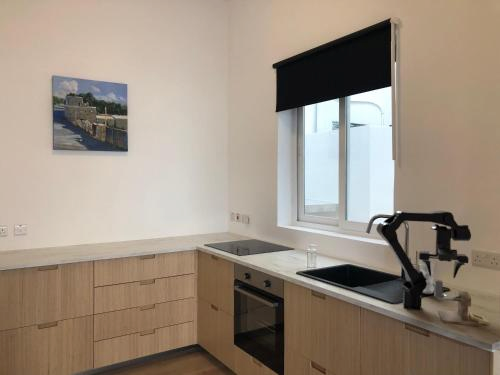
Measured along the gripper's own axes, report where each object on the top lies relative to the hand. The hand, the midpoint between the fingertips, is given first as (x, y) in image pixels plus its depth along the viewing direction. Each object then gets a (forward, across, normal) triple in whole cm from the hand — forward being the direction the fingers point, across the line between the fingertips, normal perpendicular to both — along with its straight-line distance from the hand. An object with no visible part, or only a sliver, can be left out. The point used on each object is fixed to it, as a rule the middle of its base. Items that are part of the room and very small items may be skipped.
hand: (442, 277), depth 174 cm
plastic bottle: (+13, -4, +20) cm, 24 cm away
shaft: (+6, +1, -13) cm, 14 cm away
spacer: (+11, +8, -13) cm, 19 cm away
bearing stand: (+13, +4, -13) cm, 19 cm away
